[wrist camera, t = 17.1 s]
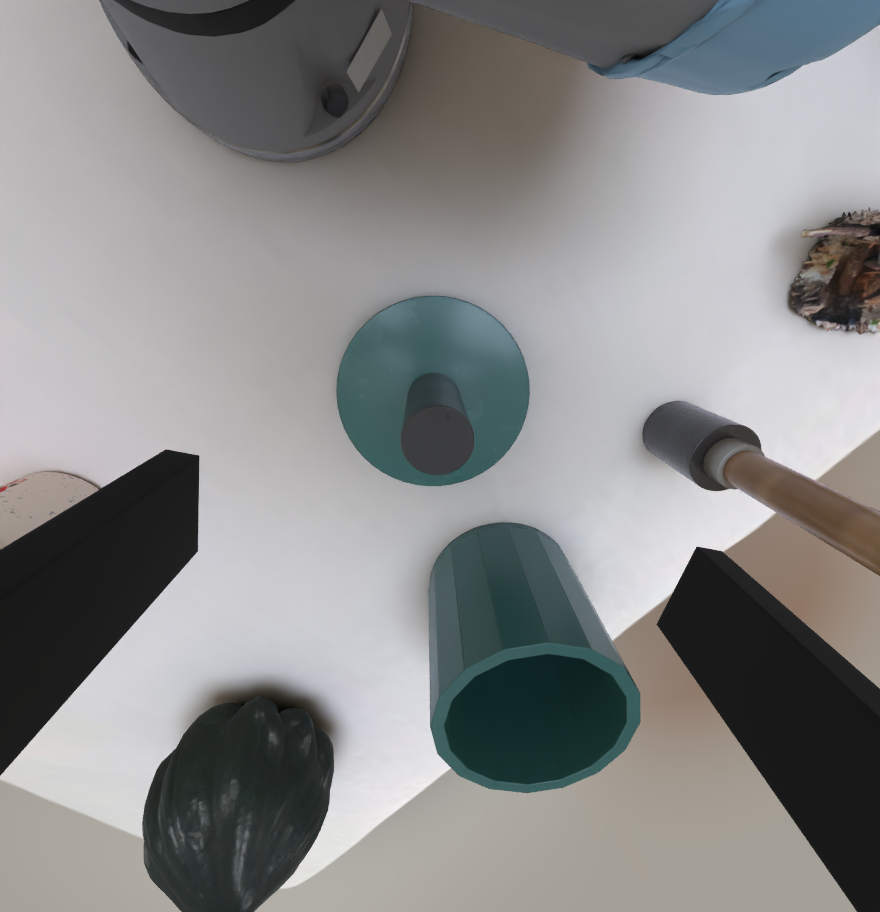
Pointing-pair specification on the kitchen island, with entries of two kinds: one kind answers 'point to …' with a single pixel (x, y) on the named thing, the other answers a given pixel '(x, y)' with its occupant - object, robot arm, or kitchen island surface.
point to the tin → (522, 665)
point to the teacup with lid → (37, 501)
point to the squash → (237, 806)
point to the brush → (760, 478)
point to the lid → (433, 390)
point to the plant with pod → (842, 275)
